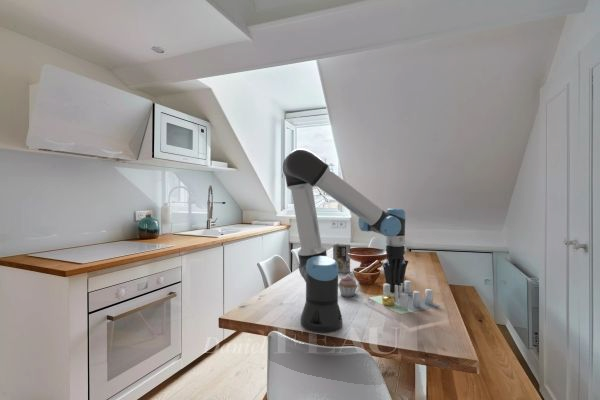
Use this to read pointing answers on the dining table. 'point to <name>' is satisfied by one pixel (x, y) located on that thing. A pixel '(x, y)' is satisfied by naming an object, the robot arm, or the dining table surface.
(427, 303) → the tray
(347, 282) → the cupcake
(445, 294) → the dining table surface
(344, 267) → the coffee box
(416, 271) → the dining table surface
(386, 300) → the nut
